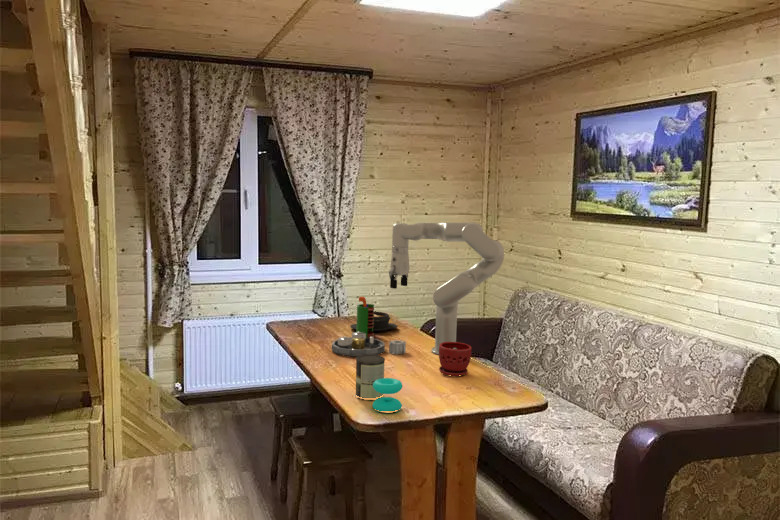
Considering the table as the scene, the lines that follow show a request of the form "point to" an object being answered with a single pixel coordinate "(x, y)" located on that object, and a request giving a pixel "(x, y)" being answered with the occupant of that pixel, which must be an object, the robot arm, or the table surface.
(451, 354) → the plant pot
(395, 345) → the planet gear
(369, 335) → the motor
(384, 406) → the donuts
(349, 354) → the carrier
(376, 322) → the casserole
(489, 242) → the robot arm
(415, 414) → the table surface
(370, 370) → the coffee can
